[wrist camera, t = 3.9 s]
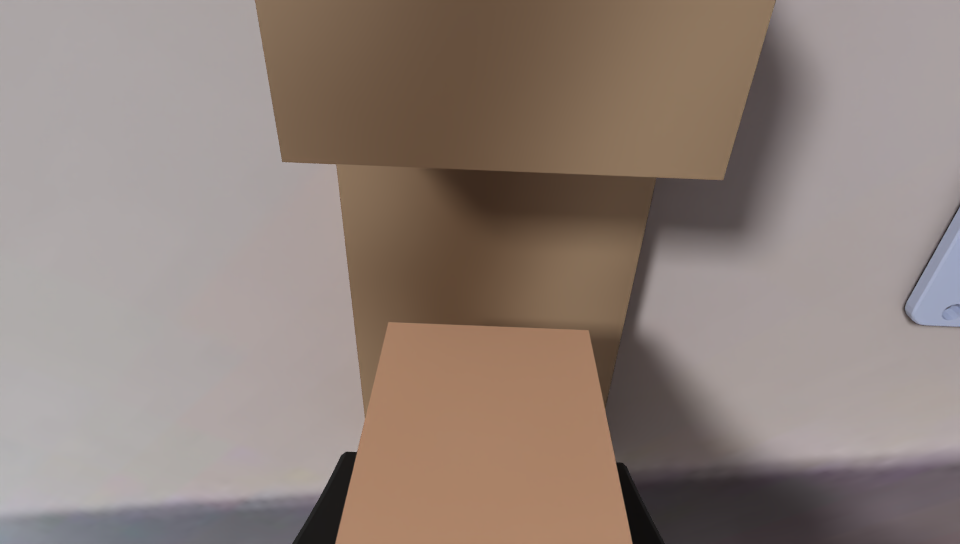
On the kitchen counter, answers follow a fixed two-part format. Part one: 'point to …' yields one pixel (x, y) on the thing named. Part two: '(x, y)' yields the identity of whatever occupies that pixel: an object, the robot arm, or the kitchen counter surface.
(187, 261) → the kitchen counter surface
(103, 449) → the kitchen counter surface
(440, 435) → the block
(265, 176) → the kitchen counter surface
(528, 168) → the rig
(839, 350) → the kitchen counter surface
